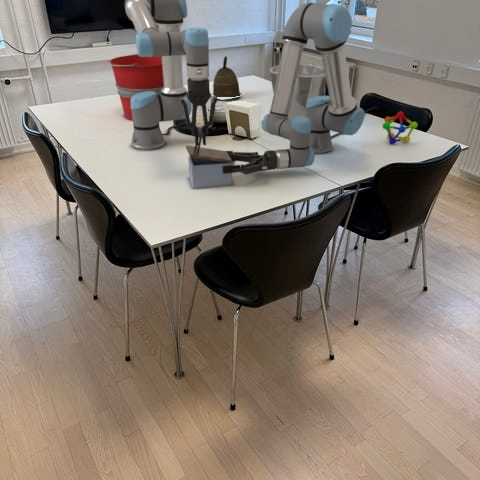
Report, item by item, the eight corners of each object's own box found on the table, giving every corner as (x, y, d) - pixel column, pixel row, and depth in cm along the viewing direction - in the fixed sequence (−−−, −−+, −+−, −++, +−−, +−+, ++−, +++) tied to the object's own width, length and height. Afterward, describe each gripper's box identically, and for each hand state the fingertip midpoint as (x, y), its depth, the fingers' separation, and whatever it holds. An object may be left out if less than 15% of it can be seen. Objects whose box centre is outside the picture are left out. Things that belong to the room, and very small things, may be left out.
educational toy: (377, 146, 209) (379, 114, 202) (384, 138, 219) (386, 107, 211) (411, 149, 202) (415, 116, 195) (417, 141, 212) (420, 109, 204)
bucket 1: (123, 105, 263) (116, 51, 247) (182, 106, 262) (179, 52, 247) (107, 123, 234) (97, 63, 218) (173, 124, 233) (168, 64, 217)
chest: (193, 188, 167) (192, 166, 162) (189, 178, 175) (188, 156, 170) (231, 184, 170) (231, 163, 165) (226, 174, 178) (225, 153, 173)
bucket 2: (296, 138, 215) (301, 78, 201) (255, 124, 234) (256, 68, 219) (335, 125, 232) (342, 70, 217) (294, 113, 251) (297, 61, 236)
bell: (227, 105, 294) (202, 96, 282) (238, 66, 289) (213, 55, 277) (243, 108, 280) (217, 98, 268) (255, 66, 275) (229, 55, 263)
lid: (189, 157, 160) (194, 132, 156) (186, 147, 168) (190, 124, 164) (231, 162, 165) (236, 139, 161) (225, 153, 173) (230, 131, 169)
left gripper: (177, 81, 147) (181, 149, 159) (222, 79, 150) (222, 146, 162) (174, 76, 153) (178, 142, 165) (217, 74, 156) (218, 139, 168)
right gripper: (284, 179, 167) (226, 185, 163) (266, 158, 186) (214, 163, 181) (285, 161, 163) (226, 166, 159) (267, 141, 182) (214, 145, 177)
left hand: (200, 144), depth 164 cm, fingers closed on lid, 2 cm apart
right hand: (220, 164), depth 170 cm, fingers closed on chest, 10 cm apart
